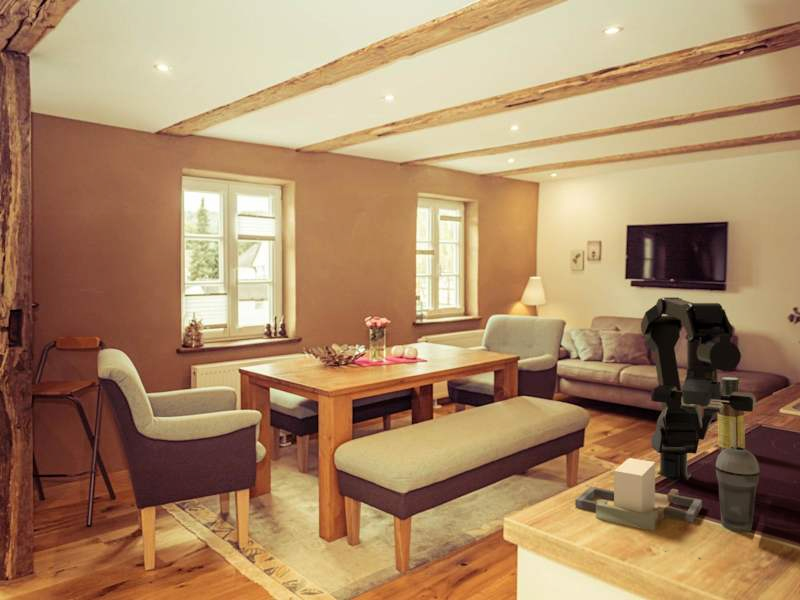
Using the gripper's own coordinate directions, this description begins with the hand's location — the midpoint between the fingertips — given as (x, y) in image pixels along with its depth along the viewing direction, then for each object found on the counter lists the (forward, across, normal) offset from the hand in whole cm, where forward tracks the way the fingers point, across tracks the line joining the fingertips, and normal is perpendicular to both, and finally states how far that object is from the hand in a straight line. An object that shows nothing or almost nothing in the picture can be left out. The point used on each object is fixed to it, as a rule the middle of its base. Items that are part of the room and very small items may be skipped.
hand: (701, 439), depth 125 cm
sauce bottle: (+13, 0, +43) cm, 45 cm away
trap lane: (+13, -9, -13) cm, 20 cm away
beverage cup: (+13, +8, -13) cm, 20 cm away
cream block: (+12, -9, -17) cm, 22 cm away
